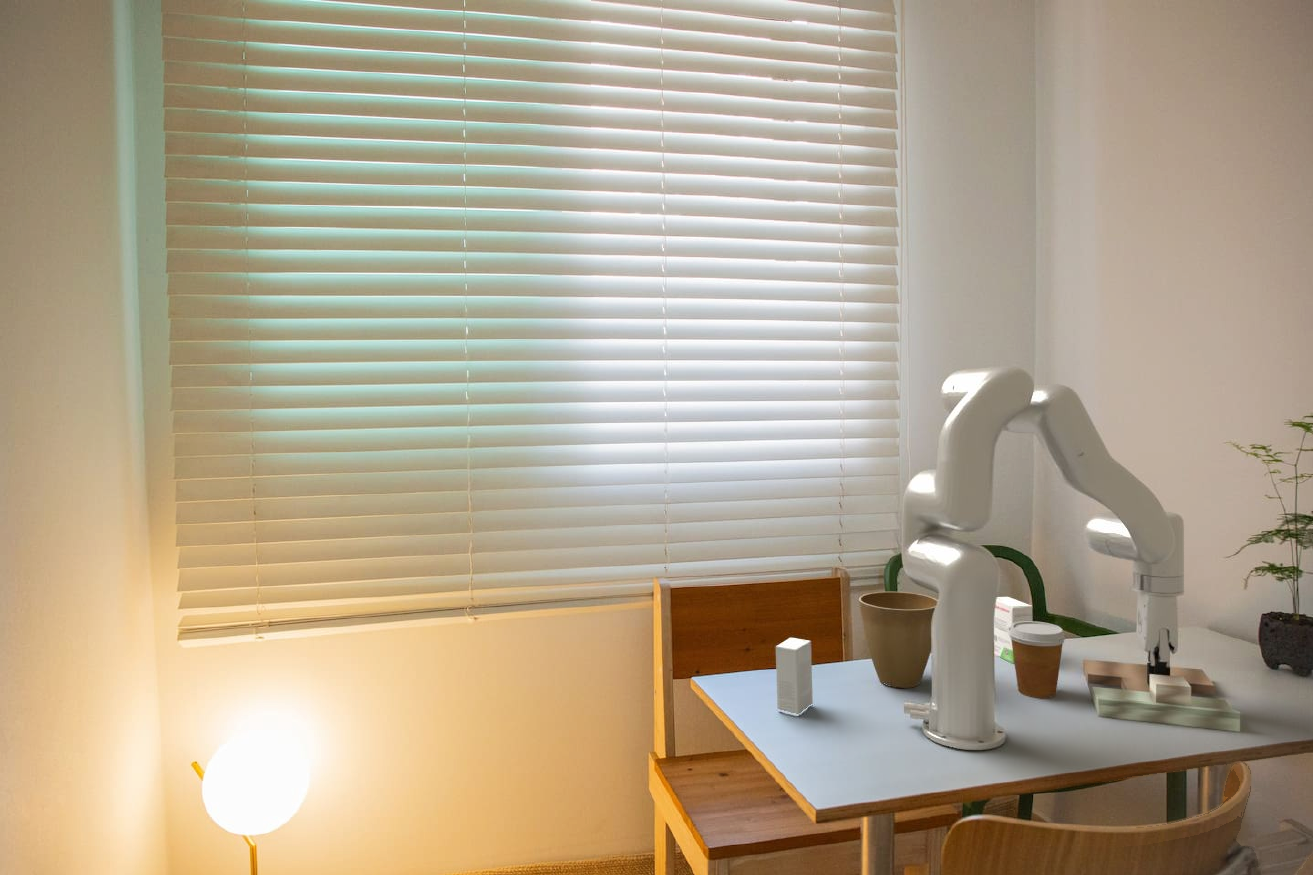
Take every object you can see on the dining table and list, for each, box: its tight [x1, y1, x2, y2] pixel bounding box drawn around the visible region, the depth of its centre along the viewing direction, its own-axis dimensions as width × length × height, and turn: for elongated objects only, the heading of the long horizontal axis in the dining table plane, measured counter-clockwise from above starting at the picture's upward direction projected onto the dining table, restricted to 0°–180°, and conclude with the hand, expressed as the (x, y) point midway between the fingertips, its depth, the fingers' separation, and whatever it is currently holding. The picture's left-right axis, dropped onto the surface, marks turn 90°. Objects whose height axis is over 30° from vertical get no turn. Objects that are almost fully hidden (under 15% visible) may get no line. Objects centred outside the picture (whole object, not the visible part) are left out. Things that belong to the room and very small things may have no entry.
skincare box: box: [775, 637, 814, 714], centre depth 144 cm, size 6×4×12 cm
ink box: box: [994, 596, 1033, 665], centre depth 169 cm, size 9×5×12 cm, turn 11°
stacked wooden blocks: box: [1082, 658, 1241, 733], centre depth 145 cm, size 20×25×3 cm
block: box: [1150, 674, 1191, 706], centre depth 137 cm, size 5×5×4 cm
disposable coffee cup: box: [1008, 621, 1067, 699], centre depth 149 cm, size 10×10×12 cm
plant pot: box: [858, 591, 938, 689], centre depth 156 cm, size 15×15×16 cm
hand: (1158, 686), depth 141 cm, fingers closed
